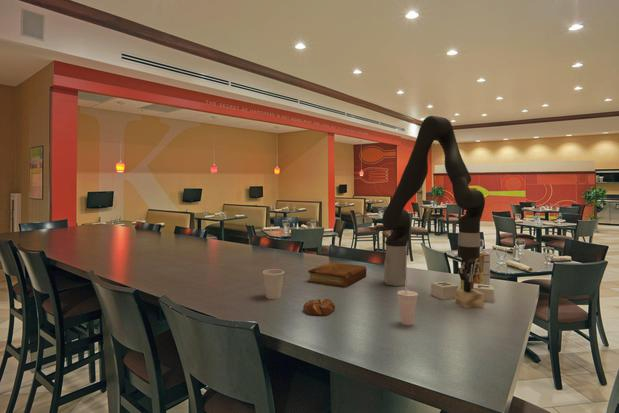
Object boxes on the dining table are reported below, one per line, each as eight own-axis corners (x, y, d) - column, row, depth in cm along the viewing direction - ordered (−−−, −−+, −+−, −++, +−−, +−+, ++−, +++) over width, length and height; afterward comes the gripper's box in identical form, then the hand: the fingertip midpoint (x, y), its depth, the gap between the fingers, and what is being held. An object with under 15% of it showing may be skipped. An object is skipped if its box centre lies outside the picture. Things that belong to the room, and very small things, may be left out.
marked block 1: (442, 300, 146) (443, 286, 146) (430, 295, 153) (431, 282, 153) (457, 298, 149) (457, 285, 148) (445, 293, 155) (445, 280, 155)
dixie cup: (267, 301, 143) (267, 274, 142) (259, 295, 150) (259, 270, 149) (287, 298, 146) (287, 272, 146) (279, 292, 154) (279, 268, 153)
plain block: (465, 308, 137) (465, 294, 136) (455, 302, 144) (455, 289, 143) (483, 307, 137) (484, 294, 137) (473, 302, 144) (473, 288, 144)
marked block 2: (473, 300, 146) (473, 287, 146) (473, 295, 152) (473, 283, 152) (493, 303, 143) (493, 289, 143) (492, 298, 149) (493, 284, 149)
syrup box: (490, 286, 166) (491, 253, 165) (475, 285, 167) (476, 252, 167) (486, 283, 172) (487, 251, 171) (472, 282, 173) (473, 250, 172)
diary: (346, 289, 162) (346, 275, 162) (308, 283, 172) (308, 270, 171) (366, 277, 182) (366, 265, 182) (331, 272, 192) (331, 261, 191)
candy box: (474, 287, 164) (476, 252, 164) (483, 289, 161) (484, 253, 160) (459, 289, 161) (461, 253, 160) (468, 292, 157) (469, 255, 156)
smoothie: (394, 319, 124) (394, 277, 123) (413, 319, 124) (414, 276, 124) (400, 327, 117) (401, 282, 117) (420, 326, 118) (421, 281, 117)
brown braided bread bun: (317, 304, 141) (317, 294, 141) (342, 310, 134) (342, 300, 134) (296, 312, 131) (296, 301, 131) (321, 319, 125) (321, 308, 124)
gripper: (471, 247, 132) (470, 297, 133) (486, 243, 141) (485, 290, 142) (450, 245, 138) (449, 292, 138) (466, 241, 147) (465, 286, 148)
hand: (467, 291), depth 140 cm, fingers closed
